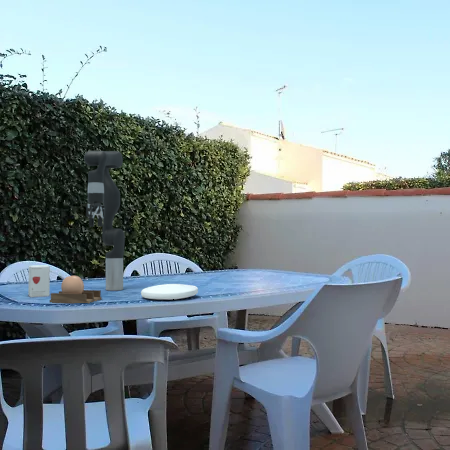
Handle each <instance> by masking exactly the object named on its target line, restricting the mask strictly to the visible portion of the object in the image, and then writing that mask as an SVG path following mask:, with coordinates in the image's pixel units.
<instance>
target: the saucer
mask: <svg viewBox="0 0 450 450" xmlns="http://www.w3.org/2000/svg"><path fill="white" fill-rule="evenodd" d="M60 286H61V287H60V289H61V291H62V292H63V293H69V294H82V293H83V291H84V290H85V283H84V281H83V279H82V278H81V277H80V276H78V275H68V276H66V277H65V278H64V279H63V280H62V282H61V285H60Z"/></svg>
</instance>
